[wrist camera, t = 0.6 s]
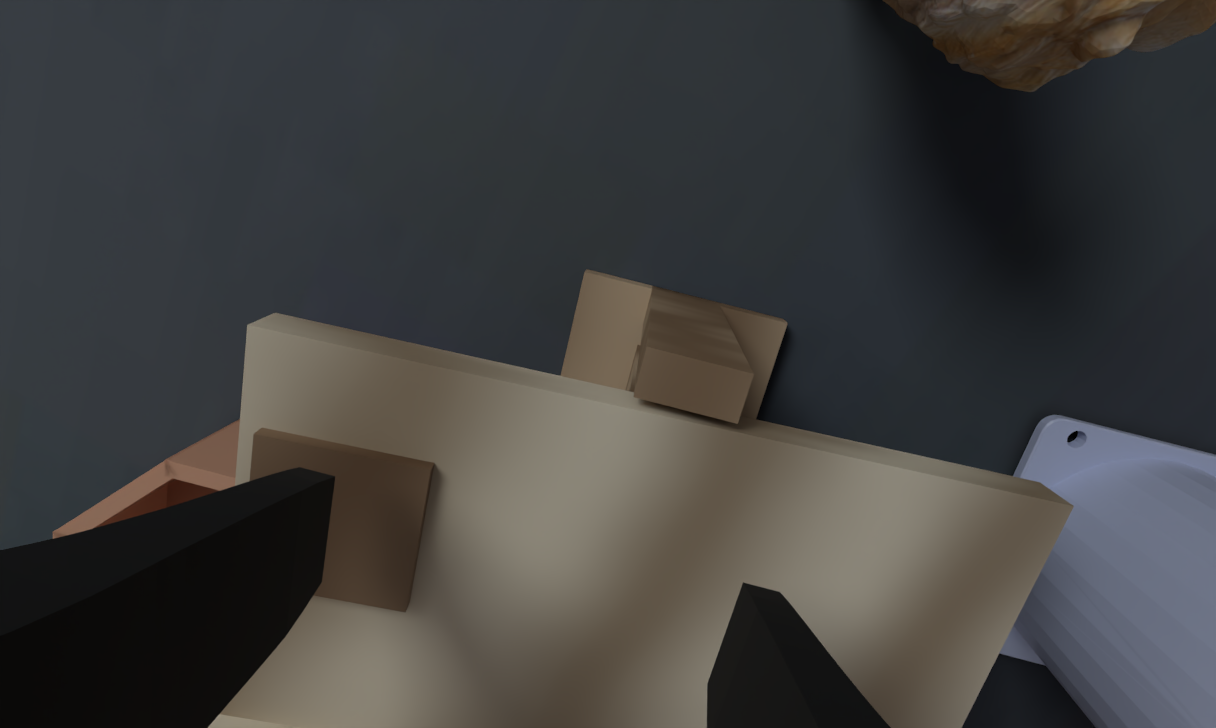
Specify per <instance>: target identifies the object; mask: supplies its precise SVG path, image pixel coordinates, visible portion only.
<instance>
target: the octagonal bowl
mask: <svg viewBox="0 0 1216 728" xmlns="http://www.w3.org/2000/svg"><path fill="white" fill-rule="evenodd" d="M239 426H240V419H239V420H237V421H235V422H234V423H232V424H230V425H228V426H226V427H224V428H222V429H221V430H219V431H217V432H215V433H213V434H211V435H210V436H208V437H206V438H204V439H202V440H200V441H199V442H197V443H195V444H193V445H191V446H189V447H188V448H186V449H184V450H182V451H180V452H178V453H177V454H175V455H173V456H171V457H169V458H167V459H166V460H165V461H164V462H162V463H160V464H159V465H157V466H156V467H154V468H153V469H151V470H149V471H148V472H146V473H145V474H143V475H142V476H140V477H139V478H137V479H135V480H134V481H132V482H131V483H129V484H128V485H126V486H124V487H123V488H121V489H120V490H118V491H117V492H115V493H114V494H112V495H110V496H109V497H107V498H106V499H104V500H103V501H101V502H100V503H98V504H96V505H95V506H93V507H92V508H90V509H89V510H87V511H85V512H84V513H82V514H81V515H79V516H78V517H76V518H75V519H73V520H71V521H70V522H68V523H67V524H65V525H64V526H62V527H60V528H59V529H57V530H55V531H53V539H54V538H58V537H62V536H66V535H70V534H74V533H78V532H82V531H86V530H90V529H93V528H97V527H100V526H104V525H107V524H111V523H114V522H118V521H121V520H125V519H128V518H132V517H135V516H139V515H143V514H146V513H150V512H153V511H157V510H160V509H164V508H167V507H170V506H173V505H177V504H180V503H183V502H186V501H189V500H192V499H195V498H199V497H202V496H205V495H208V494H211V493H214V492H217V491H221V490H224V489H227V488H230V487H233V486H235V477H236V464H237V452H238V439H239Z"/></svg>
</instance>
